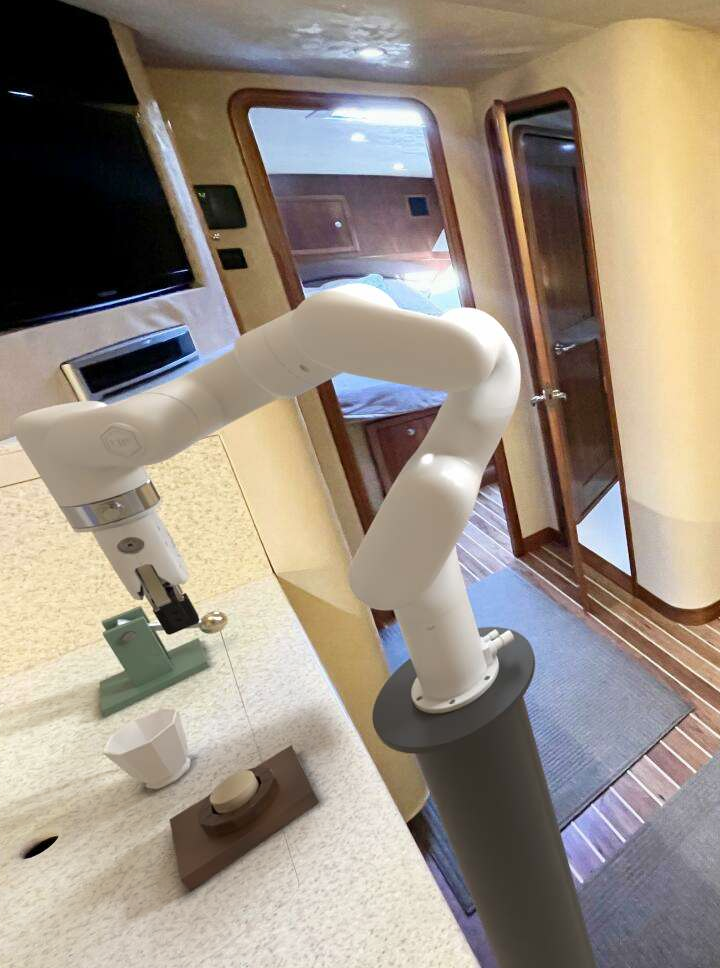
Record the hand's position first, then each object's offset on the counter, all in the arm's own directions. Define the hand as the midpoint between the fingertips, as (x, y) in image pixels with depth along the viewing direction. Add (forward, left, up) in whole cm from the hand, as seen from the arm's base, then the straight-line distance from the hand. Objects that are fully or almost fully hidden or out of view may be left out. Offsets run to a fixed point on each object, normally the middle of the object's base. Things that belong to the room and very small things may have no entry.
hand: (183, 625), depth 70 cm
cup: (+8, 0, -19) cm, 20 cm away
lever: (+3, -24, -13) cm, 28 cm away
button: (+2, +18, -15) cm, 23 cm away
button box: (+2, +18, -19) cm, 26 cm away
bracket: (+7, -24, -19) cm, 31 cm away
